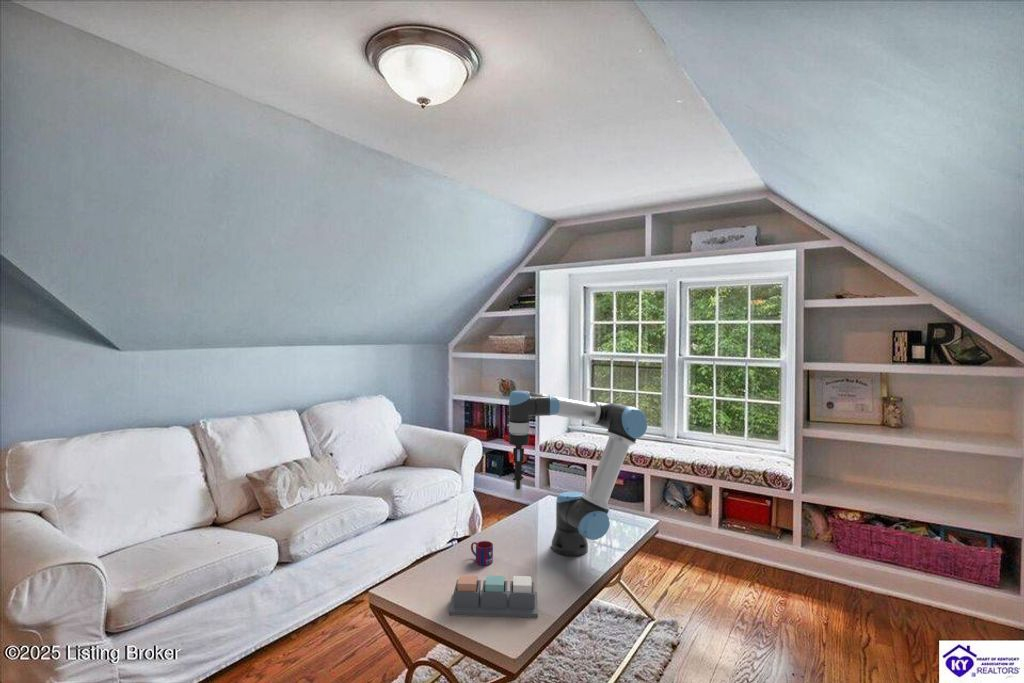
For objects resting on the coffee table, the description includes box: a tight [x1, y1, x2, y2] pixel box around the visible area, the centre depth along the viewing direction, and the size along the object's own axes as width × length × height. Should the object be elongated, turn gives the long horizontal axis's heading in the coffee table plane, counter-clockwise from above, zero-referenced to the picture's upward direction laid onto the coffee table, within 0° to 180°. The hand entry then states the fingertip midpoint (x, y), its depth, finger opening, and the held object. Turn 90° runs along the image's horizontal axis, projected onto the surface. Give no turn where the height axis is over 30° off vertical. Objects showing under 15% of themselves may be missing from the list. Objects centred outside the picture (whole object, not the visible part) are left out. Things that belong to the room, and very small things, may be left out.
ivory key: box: [512, 575, 533, 593], centre depth 158 cm, size 6×6×5 cm
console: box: [448, 579, 539, 619], centre depth 158 cm, size 28×13×6 cm, turn 89°
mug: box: [470, 540, 494, 567], centre depth 189 cm, size 7×10×7 cm
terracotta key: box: [457, 574, 479, 592], centre depth 158 cm, size 6×6×5 cm
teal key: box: [485, 574, 505, 592], centre depth 158 cm, size 6×6×5 cm
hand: (517, 497), depth 176 cm, fingers closed
